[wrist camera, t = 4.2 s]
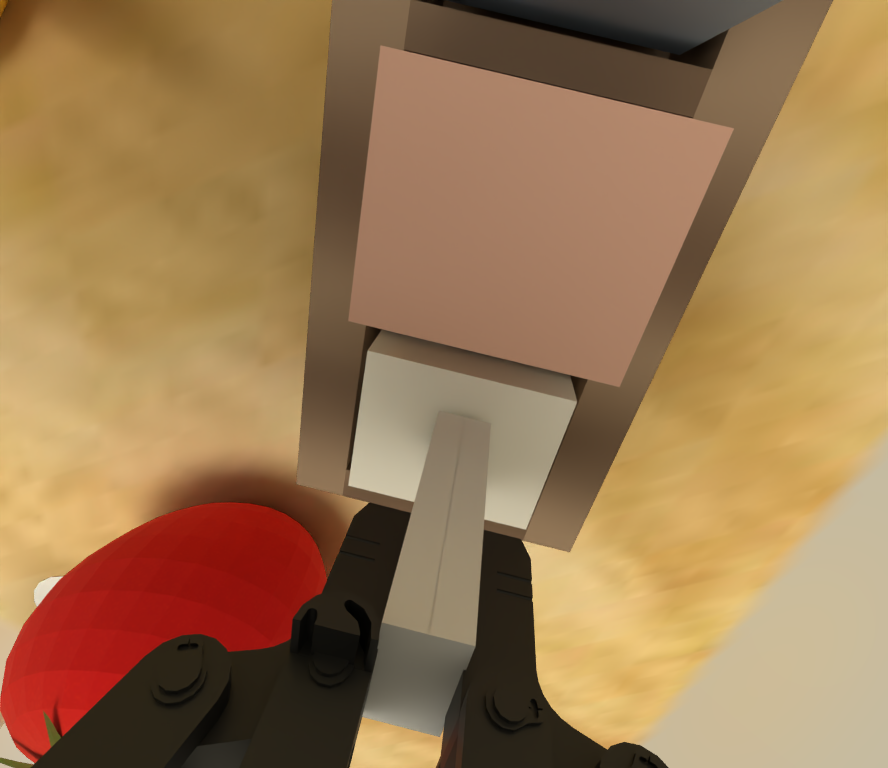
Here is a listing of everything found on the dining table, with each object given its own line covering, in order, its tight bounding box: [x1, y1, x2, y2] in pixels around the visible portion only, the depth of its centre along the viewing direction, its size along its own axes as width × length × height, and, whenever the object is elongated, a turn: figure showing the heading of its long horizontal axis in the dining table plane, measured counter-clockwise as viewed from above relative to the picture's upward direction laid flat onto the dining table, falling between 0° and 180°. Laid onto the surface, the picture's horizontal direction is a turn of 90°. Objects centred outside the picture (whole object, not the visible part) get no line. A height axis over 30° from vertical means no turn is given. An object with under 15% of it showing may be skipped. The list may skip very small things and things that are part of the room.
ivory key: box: [348, 329, 577, 530], centre depth 16 cm, size 5×6×5 cm
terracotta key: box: [348, 45, 734, 387], centre depth 11 cm, size 5×6×5 cm
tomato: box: [0, 502, 327, 768], centre depth 21 cm, size 12×14×11 cm
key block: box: [296, 0, 833, 552], centre depth 14 cm, size 21×10×5 cm, turn 168°
